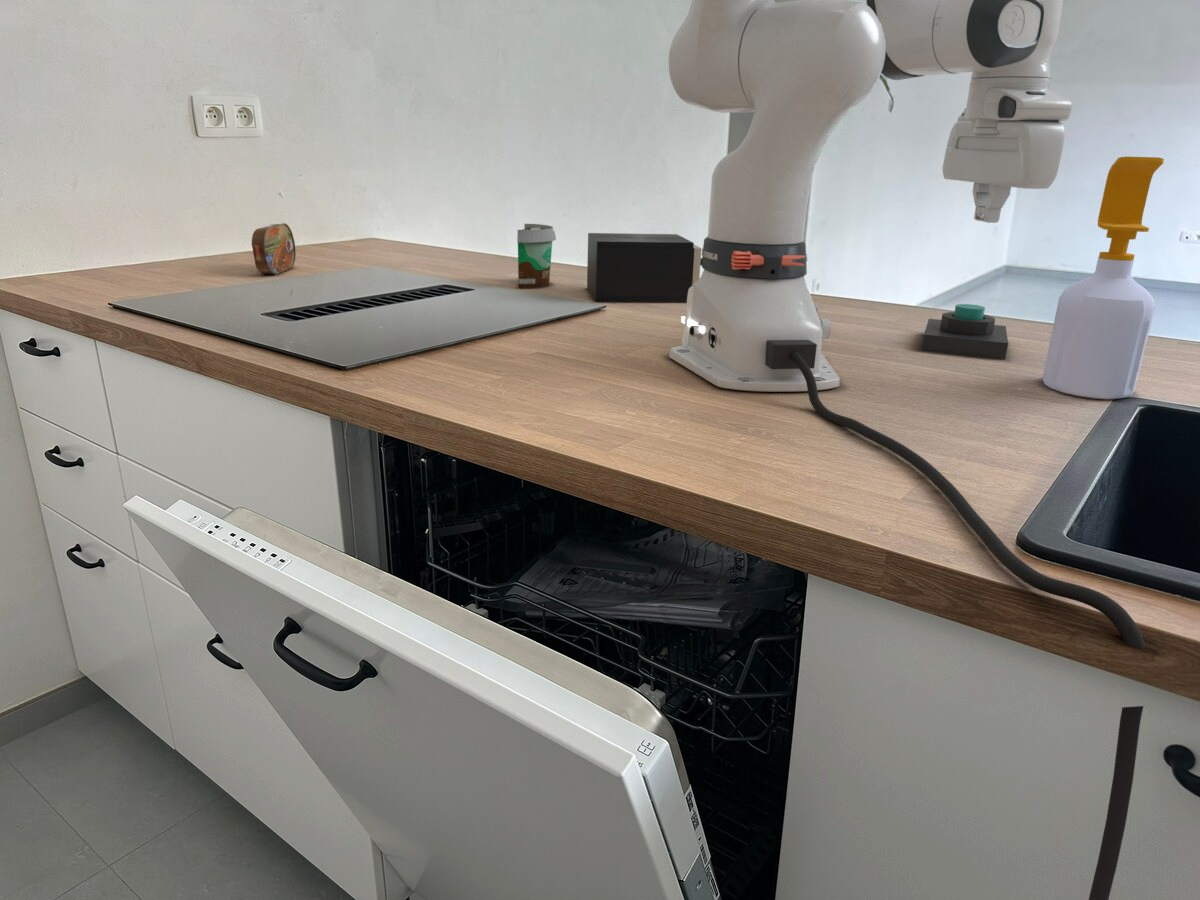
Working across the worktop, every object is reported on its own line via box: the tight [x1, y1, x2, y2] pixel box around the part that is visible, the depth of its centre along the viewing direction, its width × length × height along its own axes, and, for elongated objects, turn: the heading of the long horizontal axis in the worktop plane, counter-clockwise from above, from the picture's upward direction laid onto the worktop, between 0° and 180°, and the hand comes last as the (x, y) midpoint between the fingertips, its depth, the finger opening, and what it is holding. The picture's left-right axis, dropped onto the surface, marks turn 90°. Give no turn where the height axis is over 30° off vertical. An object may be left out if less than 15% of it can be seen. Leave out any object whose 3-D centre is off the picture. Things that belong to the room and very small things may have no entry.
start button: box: [953, 303, 986, 320], centre depth 113 cm, size 4×4×2 cm
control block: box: [921, 311, 1009, 361], centre depth 114 cm, size 12×10×4 cm
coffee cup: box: [516, 223, 557, 289], centre depth 152 cm, size 12×6×10 cm, turn 179°
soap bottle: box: [1042, 156, 1165, 400], centre depth 92 cm, size 9×9×25 cm
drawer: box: [691, 244, 702, 287], centre depth 144 cm, size 19×11×8 cm, turn 97°
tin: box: [251, 222, 297, 276], centre depth 158 cm, size 15×3×8 cm, turn 179°
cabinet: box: [586, 232, 695, 303], centre depth 144 cm, size 16×13×10 cm
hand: (985, 221), depth 110 cm, fingers closed
